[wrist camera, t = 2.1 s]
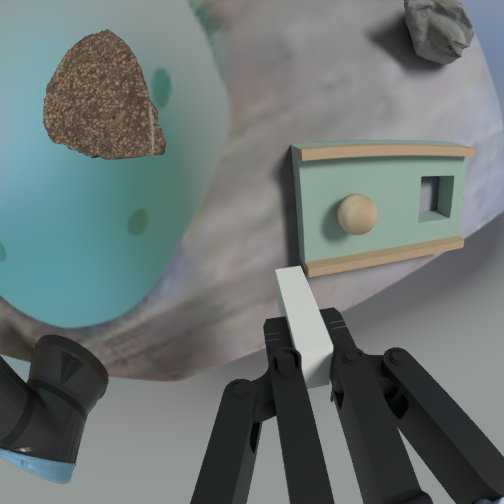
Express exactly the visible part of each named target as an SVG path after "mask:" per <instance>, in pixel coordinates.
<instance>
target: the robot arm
mask: <svg viewBox="0 0 504 504" xmlns="http://www.w3.org/2000/svg"><path fill="white" fill-rule="evenodd" d="M275 273H276V283H277V294H278V305H279V310H280V314H281V317H278V318H271V319H266V321H265V324H264V326H263V329H264V336H265V343H266V350H267V356H268V363H269V367H268V370H267V372H266V373H265V374H264V375H263V376H262V377H260V378H258V379H256V380H253V381H249V380H246V379H236V380H234V381H232V382H230V383H229V384H228V385H227V386H226V388H225V390H224V393H223V396H222V399H221V403H220V406H219V410H218V413H217V416H216V420H215V424H214V427H213V430H212V433H211V437H210V440H209V443H208V447H207V450H206V454H205V457H204V460H203V463H202V467H201V470H200V473H199V477H198V480H197V483H196V486H195V490H194V493H193V496H192V499H191V503H190V504H246V502H247V498H248V494H249V489H250V484H251V479H252V474H253V469H254V464H255V460H256V454H257V449H258V444H259V439H260V433H261V427H262V422H263V421H265V420H267V419H270V418H272V417H274V416H276V417H277V423H278V429H279V436H280V443H281V449H282V456H283V462H284V468H285V475H286V481H287V487H288V494H289V500H290V504H334V499H333V495H332V490H331V486H330V482H329V477H328V473H327V469H326V464H325V460H324V456H323V452H322V448H321V444H320V439H319V436H318V431H317V428H316V423H315V419H314V415H313V411H312V407H311V403H310V399H309V395H308V391H307V389H309V388H314V387H319V386H323V385H328V384H329V381H330V380H331V383H332V392H331V402H332V401H333V399H334V402H335V405H336V408H337V412H338V415H339V418H340V421H341V425H342V428H343V432H344V435H345V438H346V442H347V445H348V449H349V452H350V456H351V459H352V463H353V466H354V470H355V473H356V477H357V481H358V484H359V488H360V492H361V496H362V499H363V503H364V504H433V502H432V499H431V497H430V496H429V495H428V494H427V493H425V492H424V491H422V490H421V488H420V486H419V483H418V480H417V478H416V475H415V472H414V469H413V467H412V464H411V461H410V459H409V456H408V454H407V451H406V448H405V446H404V443H403V441H402V438H401V436H400V433H399V431H398V428H399V430H400V431H401V432H402V434H403V435H404V436H405V438H406V439H407V440H408V441H409V443H410V444H411V445H412V447H413V448H414V449H415V451H416V452H417V453H418V455H419V456H420V457H421V459H422V460H423V461H424V462H425V464H426V465H427V466H428V468H429V469H430V470H431V472H432V473H433V474H434V476H435V477H436V478H437V480H438V481H439V482H440V483H441V485H442V486H443V487H444V489H445V490H446V492H447V493H448V494H449V496H450V497H451V498H452V499H453V500H454V502H455V503H456V504H504V457H503V456H502V455H501V453H500V452H499V451H498V450H497V448H496V447H495V446H494V445H493V444H492V443H491V441H490V440H489V439H488V438H487V437H486V436H485V434H484V433H483V432H482V431H481V430H480V429H479V428H478V426H477V425H476V424H475V423H474V422H473V421H472V420H471V419H470V417H468V415H467V414H466V413H465V412H464V411H463V410H462V409H461V408H460V406H459V405H458V404H457V403H456V402H455V401H454V400H453V399H452V398H451V397H450V396H449V395H448V393H447V392H445V390H444V389H443V388H442V387H441V386H440V385H439V384H438V383H437V382H436V381H435V380H434V379H433V378H432V376H431V375H430V374H428V372H427V371H426V370H425V369H424V368H423V367H422V366H421V365H420V364H419V363H418V362H417V361H416V360H415V359H414V358H413V357H412V356H411V355H410V354H409V353H408V352H407V351H406V350H404V349H402V348H391V349H388V350H387V351H386V352H385V353H384V355H368V354H365V353H363V351H361V350H360V349H358V348H357V347H356V345H355V343H354V341H353V339H352V337H351V334H350V332H349V330H348V328H347V327H346V324H345V322H344V320H343V318H342V316H341V314H340V312H339V311H337V310H336V309H335V308H334V307H332V308H327V309H321V310H319V309H318V307H317V304H316V302H315V299H314V297H313V294H312V292H311V290H310V287H309V285H308V282H307V280H306V278H305V275H304V273H303V271H302V268H301V266H296V267H289V268H282V269H276V270H275ZM108 381H109V380H108V374H107V372H106V370H105V368H104V367H103V365H102V364H101V363H100V362H99V360H98V359H97V358H96V357H95V356H94V355H92V354H91V353H90V352H89V351H88V350H86V349H85V348H83V347H82V346H80V345H79V344H77V343H75V342H73V341H71V340H69V339H66V338H64V337H60V336H56V335H46V336H43V337H41V338H40V339H39V340H38V341H37V343H36V345H35V346H34V348H33V351H32V361H31V366H30V373H29V378H28V381H27V383H25V382H24V381H23V380H22V379H21V378H20V377H19V376H18V375H17V374H16V373H15V372H14V370H13V369H12V368H11V367H10V366H9V365H8V364H7V363H6V361H5V360H4V359H3V358H2V357H1V356H0V457H1V458H3V459H4V460H5V461H7V462H9V463H10V464H12V465H14V466H16V467H18V468H20V469H22V470H24V471H26V472H28V473H30V474H33V475H35V476H38V477H40V478H43V479H45V480H48V481H51V482H54V483H58V484H66V483H68V482H69V481H70V479H71V476H72V472H73V469H74V467H75V466H76V464H75V463H76V458H77V454H78V450H79V446H80V442H81V438H82V434H83V430H84V426H85V423H86V419H87V416H88V414H89V412H90V411H91V409H92V408H93V407H94V406H95V404H96V403H97V401H98V399H100V398H101V397H102V396H103V395H104V394H105V391H106V388H107V385H108ZM397 427H398V428H397Z"/></svg>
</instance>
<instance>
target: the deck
mask: <svg viewBox="0 0 504 504" xmlns="http://www.w3.org/2000/svg"><path fill="white" fill-rule="evenodd" d="M291 153H292V164H293V175H294V187H295V199H296V213H297V227H298V244H299V258H300V260H301V262H302V264H303V266H304V268H305V270H306V273H307V275H308V277H314V276H320V275H326V274H332V273H337V272H343V271H348V270H354V269H359V268H365V267H370V266H375V265H381V264H386V263H391V262H396V261H401V260H406V259H411V258H416V257H421V256H425V255H430V254H435V253H440V252H444V251H449V250H453V249H458V248H462V247H463V245H464V240H463V239H462V238H460V237H459V236H458V232H459V226H460V220H461V213H462V205H463V197H464V187H465V175H466V157H475V149H474V148H470V147H467V146H464V145H460V144H456V143H453V142H440V141H419V140H354V141H332V142H316V143H303V144H291ZM421 176H439V191H438V202H437V210H434V211H425V212H419V205H420V191H421ZM351 194H363V195H365V196H367V197H369V198H370V199H371V200H372V201H373V203H374V204H375V206H376V209H377V221H376V224H375V226H374V227H373V228H372V229H371V230H370V231H369V232H368V233H366V234H363V235H352V234H350V233H348V232H346V231H345V230H344V229H343V228H342V227H341V226H340V224H339V222H338V219H337V209H338V206H339V204H340V202H341V201H342V200H343V199H344V198H345V197H346V196H348V195H351Z"/></svg>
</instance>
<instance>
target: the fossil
mask: <svg viewBox="0 0 504 504" xmlns="http://www.w3.org/2000/svg"><path fill="white" fill-rule="evenodd" d="M404 1H405V2H404V7H405V12H406V13H405V16H406V20H405V23H406V25H407V27H408V28H409V32H410V35H411V39H412V42H413V47H414V50H415V52H416V54H417V56H420V57H422V58H424V59H426V60H429V61H433V62H436V63H440V64H449V63H452V62H453V61H455V60H456V59H457V58H459V57H462V50H463V49H464V48H466V47H470V42H471V40H472V37H473V34H474V33H473V30H472V25H471V23H470V20H469V19H468V15H467V11H466V9H465V6H464V5H463V4H461V3H459V2H458V1H456V0H404Z"/></svg>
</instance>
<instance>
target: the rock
mask: <svg viewBox="0 0 504 504" xmlns="http://www.w3.org/2000/svg"><path fill="white" fill-rule="evenodd" d="M46 92H47V94H46V97H45V99H44V110H43V120H44V122H43V123H44V126H45V128H46V130H47V132H48V136H49V137H50V139H51V140H52V141H53V142H54V143H57V144H64V145H67V147H68V148H69V149H72V150H75V151H78V152H79V153H83V154H85V155H86V156H89V157H91V158H96V157H101V158H104V159H122V158H134V157H141V156H150V155H163V154H164V151H165V146H166V141H165V140H164V138H163V131H162V129H161V128H160V126H159V124H158V111H157V109H156V107H155V106H154V105H153V103H152V102H151V101H150V99H149V96H148V90H147V86H146V83H145V81H144V77H143V74H142V70H141V68H140V66H139V64H138V63H137V59H136V57H135V55H134V54H133V52H132V51H131V50H130V48H129V46H128V45H127V44H126V43H125V42H124V41H123V40H122V39H121V38H120V37H118V36H117V35H115V34H113V33H112V32H111V31H109V30H105V31H101V32H100V33H96V34H91V35H89V36H86V37H84V38H83V39H82V40H80V41H79V42H78V43H77V44H75V46H73V47H72V48H71V49H70V50H69V51H68V52H67V53H66V55H65V56H64V58H63V60H62V61H61V63H60V64H59V65H58V68H57V69H56V71H55V73H54V75H53V77H52V79H51V81H50V83H48V84H47V88H46Z"/></svg>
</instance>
